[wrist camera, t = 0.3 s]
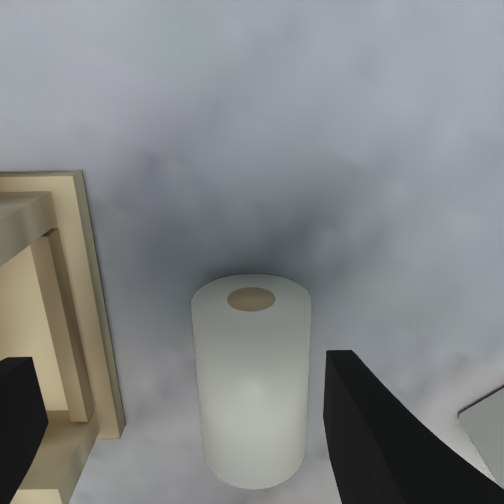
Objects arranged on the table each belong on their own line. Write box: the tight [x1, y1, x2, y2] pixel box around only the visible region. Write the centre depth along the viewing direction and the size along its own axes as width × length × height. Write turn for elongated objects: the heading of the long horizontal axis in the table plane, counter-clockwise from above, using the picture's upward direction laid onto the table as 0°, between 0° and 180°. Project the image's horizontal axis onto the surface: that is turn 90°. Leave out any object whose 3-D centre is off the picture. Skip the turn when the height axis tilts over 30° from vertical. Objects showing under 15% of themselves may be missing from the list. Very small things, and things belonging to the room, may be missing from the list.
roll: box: [191, 274, 312, 490], centre depth 19 cm, size 8×5×5 cm, turn 1°
